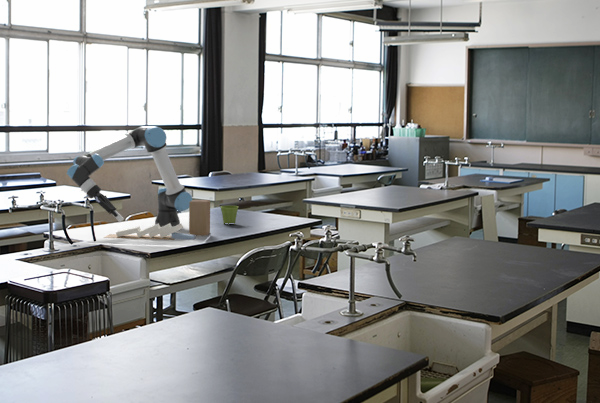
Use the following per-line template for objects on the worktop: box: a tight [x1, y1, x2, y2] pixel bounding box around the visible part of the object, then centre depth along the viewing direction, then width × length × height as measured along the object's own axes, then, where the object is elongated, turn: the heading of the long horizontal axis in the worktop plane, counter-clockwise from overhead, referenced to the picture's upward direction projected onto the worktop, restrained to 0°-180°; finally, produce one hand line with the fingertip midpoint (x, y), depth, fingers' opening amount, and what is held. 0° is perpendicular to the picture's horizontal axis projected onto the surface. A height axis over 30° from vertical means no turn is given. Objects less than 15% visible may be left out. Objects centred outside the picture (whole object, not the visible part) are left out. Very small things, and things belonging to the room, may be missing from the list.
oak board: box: [103, 233, 176, 241], centre depth 367 cm, size 12×38×1 cm, turn 89°
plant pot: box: [219, 205, 239, 224], centre depth 427 cm, size 12×12×11 cm
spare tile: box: [115, 225, 142, 237], centre depth 367 cm, size 5×3×12 cm
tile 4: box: [159, 223, 184, 238], centre depth 366 cm, size 5×3×12 cm
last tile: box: [170, 231, 196, 240], centre depth 366 cm, size 5×3×12 cm
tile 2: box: [136, 223, 162, 238], centre depth 367 cm, size 5×3×12 cm
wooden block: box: [188, 199, 211, 237], centre depth 381 cm, size 10×10×20 cm
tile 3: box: [148, 223, 173, 238], centre depth 366 cm, size 5×3×12 cm
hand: (121, 220), depth 366 cm, fingers closed
